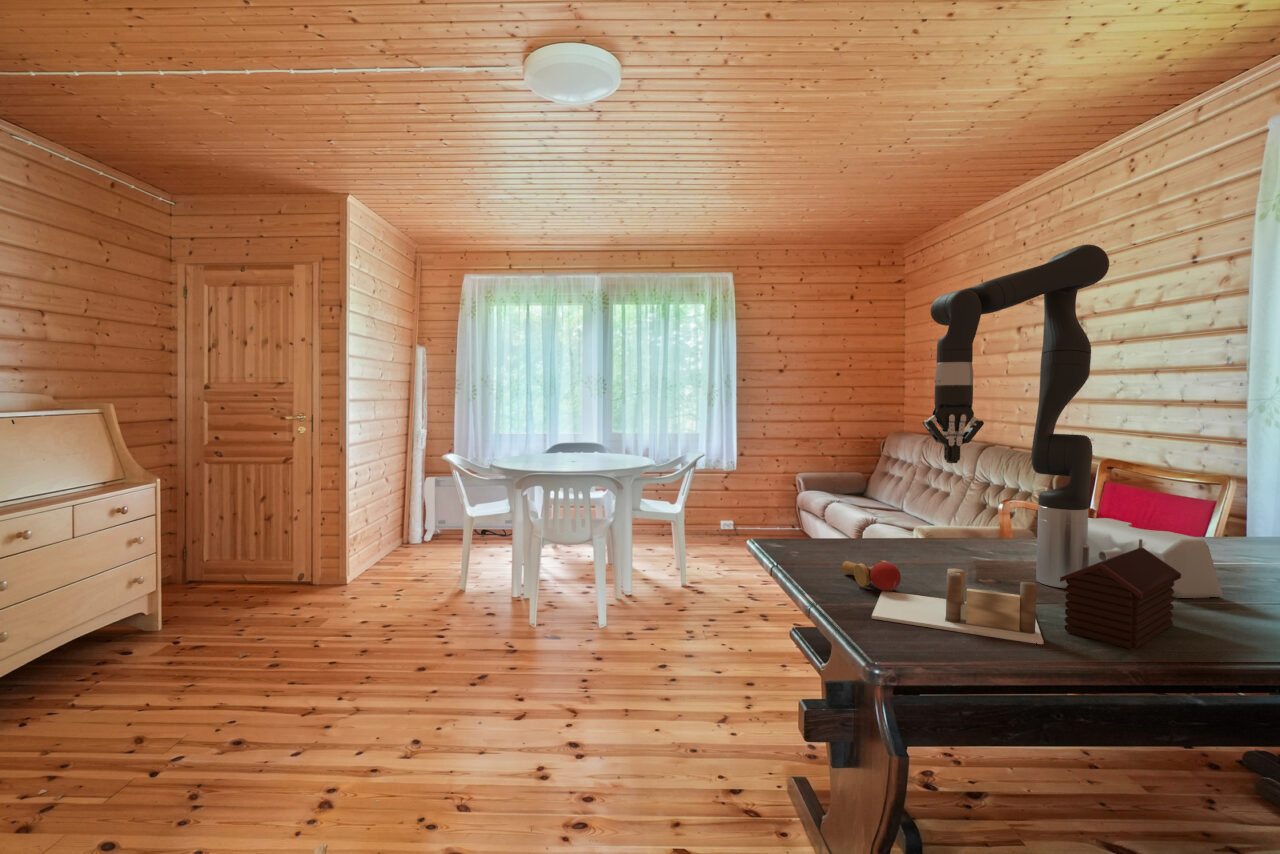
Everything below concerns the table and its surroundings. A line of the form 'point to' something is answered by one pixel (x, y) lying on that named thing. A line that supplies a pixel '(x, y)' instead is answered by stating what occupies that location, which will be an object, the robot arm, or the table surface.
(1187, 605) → the table surface
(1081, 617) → the model building
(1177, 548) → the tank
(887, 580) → the kendama
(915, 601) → the board
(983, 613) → the fence fixed
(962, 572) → the panel
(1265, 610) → the table surface
